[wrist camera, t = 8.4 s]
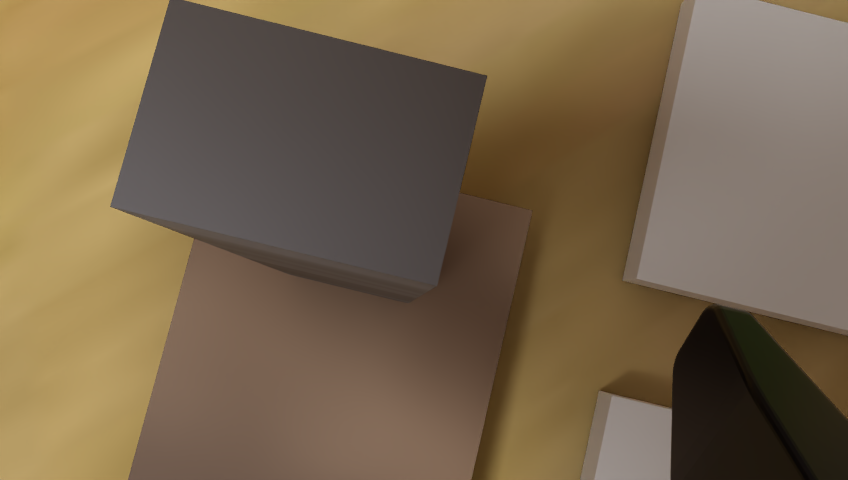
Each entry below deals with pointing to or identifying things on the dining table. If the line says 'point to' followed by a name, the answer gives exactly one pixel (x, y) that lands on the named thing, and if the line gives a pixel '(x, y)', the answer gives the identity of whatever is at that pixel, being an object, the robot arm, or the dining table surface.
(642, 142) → the dining table surface
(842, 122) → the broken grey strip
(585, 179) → the dining table surface
